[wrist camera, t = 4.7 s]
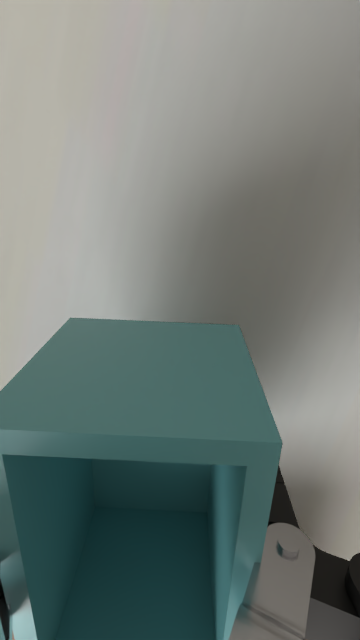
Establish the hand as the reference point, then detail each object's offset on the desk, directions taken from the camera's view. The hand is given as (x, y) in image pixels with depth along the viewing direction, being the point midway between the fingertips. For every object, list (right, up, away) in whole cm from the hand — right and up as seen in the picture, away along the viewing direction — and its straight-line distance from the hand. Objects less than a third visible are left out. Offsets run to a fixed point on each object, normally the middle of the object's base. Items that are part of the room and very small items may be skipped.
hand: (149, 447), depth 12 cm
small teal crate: (0, 0, +1) cm, 1 cm away
